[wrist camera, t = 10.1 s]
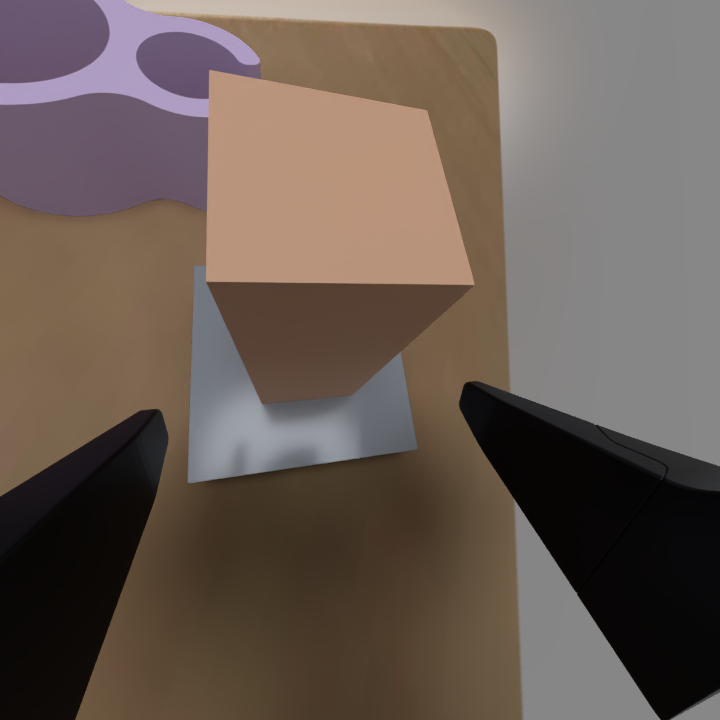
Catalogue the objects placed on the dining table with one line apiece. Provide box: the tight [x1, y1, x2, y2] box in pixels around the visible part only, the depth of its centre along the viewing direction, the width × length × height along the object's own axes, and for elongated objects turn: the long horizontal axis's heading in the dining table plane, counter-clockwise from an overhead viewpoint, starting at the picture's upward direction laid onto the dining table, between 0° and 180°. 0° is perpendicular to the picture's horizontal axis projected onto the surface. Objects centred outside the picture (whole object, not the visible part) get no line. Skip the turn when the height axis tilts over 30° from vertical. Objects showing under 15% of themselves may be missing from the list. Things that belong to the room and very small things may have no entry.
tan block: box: [206, 70, 475, 404], centre depth 12 cm, size 5×5×12 cm
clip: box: [0, 0, 261, 216], centre depth 19 cm, size 20×12×7 cm, turn 92°
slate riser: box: [188, 266, 418, 483], centre depth 19 cm, size 12×12×3 cm
